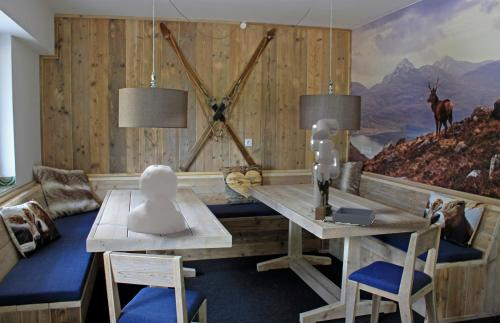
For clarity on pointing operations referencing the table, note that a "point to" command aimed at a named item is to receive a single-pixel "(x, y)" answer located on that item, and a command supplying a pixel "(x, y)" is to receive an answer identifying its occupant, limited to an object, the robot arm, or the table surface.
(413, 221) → the table surface
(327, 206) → the statue
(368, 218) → the slate bin
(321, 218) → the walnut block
